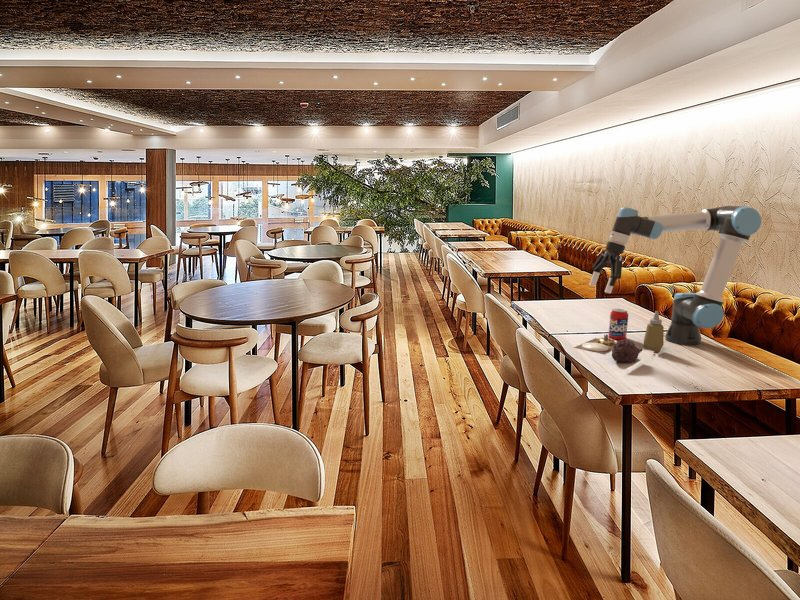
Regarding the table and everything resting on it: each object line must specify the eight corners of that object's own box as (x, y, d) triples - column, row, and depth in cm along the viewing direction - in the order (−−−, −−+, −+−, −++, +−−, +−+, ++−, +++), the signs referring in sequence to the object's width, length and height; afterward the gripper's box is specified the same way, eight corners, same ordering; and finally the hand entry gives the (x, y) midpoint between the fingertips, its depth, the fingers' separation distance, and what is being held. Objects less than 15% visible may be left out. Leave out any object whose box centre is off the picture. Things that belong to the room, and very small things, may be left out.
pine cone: (622, 371, 210) (624, 346, 208) (600, 364, 218) (602, 341, 216) (646, 363, 221) (649, 339, 219) (624, 356, 228) (626, 334, 226)
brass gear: (617, 343, 243) (617, 334, 243) (610, 346, 238) (610, 337, 237) (600, 339, 249) (601, 331, 248) (593, 343, 243) (594, 334, 242)
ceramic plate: (612, 347, 236) (612, 346, 236) (602, 353, 228) (602, 351, 228) (588, 342, 244) (589, 341, 243) (577, 347, 236) (577, 346, 236)
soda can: (622, 338, 256) (625, 308, 253) (628, 343, 249) (631, 312, 246) (606, 338, 257) (608, 307, 254) (610, 342, 249) (613, 311, 246)
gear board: (624, 347, 242) (625, 344, 242) (604, 357, 227) (604, 354, 227) (595, 341, 252) (595, 338, 252) (573, 350, 236) (573, 347, 236)
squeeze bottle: (664, 354, 232) (669, 314, 229) (645, 353, 234) (649, 313, 230) (659, 349, 240) (664, 310, 236) (640, 348, 242) (644, 309, 238)
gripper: (595, 236, 243) (578, 281, 247) (625, 244, 219) (606, 293, 223) (609, 241, 244) (593, 285, 249) (641, 249, 220) (622, 298, 225)
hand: (599, 289), depth 236 cm, fingers open, 13 cm apart
